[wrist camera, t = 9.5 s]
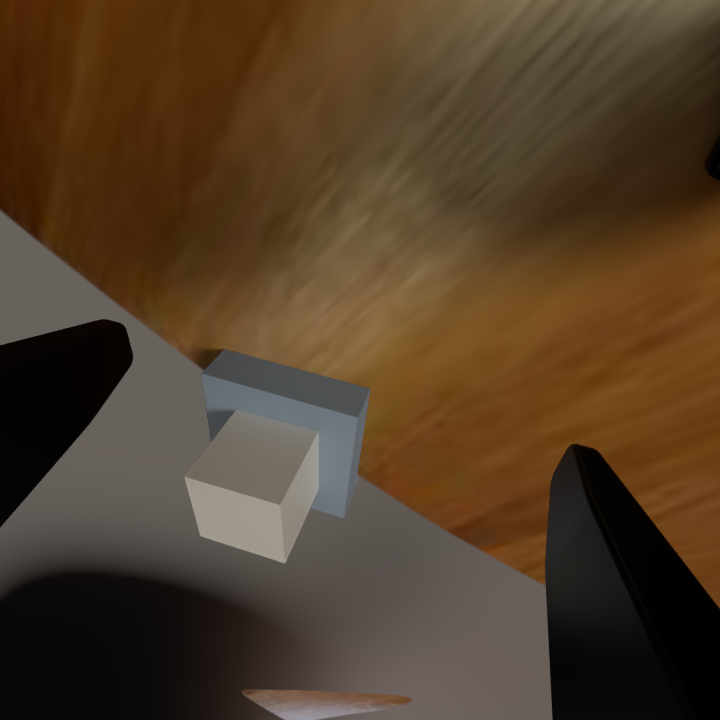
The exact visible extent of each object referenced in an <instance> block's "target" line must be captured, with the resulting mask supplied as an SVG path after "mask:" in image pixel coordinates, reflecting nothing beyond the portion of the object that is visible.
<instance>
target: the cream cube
mask: <svg viewBox="0 0 720 720" xmlns="http://www.w3.org/2000/svg"><path fill="white" fill-rule="evenodd" d="M185 481H186V485H187V488H188V492H189V495H190V499H191V503H192V506H193V510H194V514H195V518H196V521H197V525H198V528H199V532H200V536H202V537H205V538H208V539H211V540H214V541H217V542H221V543H224V544H227V545H230V546H233V547H236V548H239V549H242V550H245V551H248V552H251V553H254V554H258V555H261V556H264V557H267V558H270V559H273V560H276V561H279V562H282V563H285V562H286V560H287V558H288V556H289V553H290V551H291V549H292V547H293V545H294V542H295V540H296V538H297V536H298V534H299V531H300V529H301V527H302V525H303V523H304V520H305V518H306V516H307V514H308V511H309V509H310V507H311V505H312V503H313V500H314V498H315V496H316V494H317V492H318V489H319V431H316V430H312V429H308V428H304V427H301V426H297V425H293V424H289V423H285V422H281V421H277V420H273V419H269V418H265V417H262V416H258V415H254V414H250V413H246V412H242V411H238V410H236V411H235V412H234V413H233V415H232V416H231V417H230V418H229V420H228V421H227V422H226V424H225V425H224V426H223V427H222V429H221V430H220V431H219V433H218V434H217V435H216V437H215V438H214V439H213V440H212V442H211V443H210V444H209V446H208V447H207V448H206V450H205V451H204V452H203V453H202V455H201V456H200V457H199V459H198V460H197V461H196V462H195V464H194V465H193V466H192V468H191V469H190V470H189V472H188V473H187V474H186V475H185Z"/></svg>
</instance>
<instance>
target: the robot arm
mask: <svg viewBox="0 0 720 720" xmlns="http://www.w3.org/2000/svg"><path fill="white" fill-rule="evenodd" d="M719 162H720V135H719V137H718V139H717V141H716V143H715V144H714V146H713V148H712V150H711V152H710V154H709V156H708V158H707V160H706V163H705V170H706V172H707V173H708V174H709V175H710V176H711V177H712V178H715V179H717V180H720V170H719V169H718V164H719ZM132 361H133V353H132V349H131V345H130V341H129V337H128V334H127V330H126V328H125V326H124V325H123V324H121V323H118V322H115V321H111V320H106V319H102V320H97V321H93V322H89V323H85V324H81V325H78V326H74V327H70V328H66V329H62V330H58V331H54V332H50V333H46V334H43V335H39V336H35V337H31V338H27V339H23V340H19V341H15V342H12V343H7V344H4V345H0V527H1V526H2V525H3V524H4V523H5V521H6V520H7V519H8V518H9V517H10V516H11V514H12V513H13V512H14V511H15V510H16V509H17V508H18V506H19V505H20V504H21V503H22V502H23V501H24V499H25V498H26V497H27V496H28V495H29V494H30V492H31V491H32V490H33V489H34V488H35V487H36V486H37V484H38V483H39V482H40V481H41V480H42V479H43V477H44V476H45V475H46V474H47V473H48V472H49V470H50V469H51V468H52V467H53V466H54V465H55V464H56V462H57V461H58V460H59V459H60V458H61V457H62V455H63V454H64V453H65V452H66V451H67V450H68V449H69V447H70V446H71V445H72V444H73V443H74V441H75V440H76V439H77V438H78V437H79V436H80V435H81V433H82V432H83V431H84V430H85V429H86V427H87V426H88V425H89V424H90V423H91V421H92V420H93V419H94V417H95V416H96V415H97V413H98V412H99V410H100V409H101V407H102V406H103V405H104V403H105V402H106V400H107V399H108V397H109V396H110V395H111V393H112V392H113V390H114V389H115V388H116V386H117V385H118V383H119V382H120V381H121V379H122V378H123V376H124V375H125V373H126V372H127V371H128V369H129V368H130V366H131V364H132ZM545 578H546V597H547V616H548V617H547V618H548V638H549V658H550V678H551V698H552V717H553V720H720V608H719V607H718V606H717V605H716V603H715V602H714V601H713V599H712V598H711V597H710V595H709V594H708V593H707V592H706V590H705V589H704V588H703V586H702V585H701V584H700V582H699V581H698V580H697V579H696V577H695V576H694V575H693V573H692V572H691V571H690V570H689V568H688V567H687V566H686V564H685V563H684V562H683V560H682V559H681V558H680V557H679V555H678V554H677V553H676V551H675V550H674V549H673V547H672V546H671V545H670V544H669V542H668V541H667V540H666V538H665V537H664V536H663V534H662V533H661V532H660V531H659V529H658V528H657V527H656V525H655V524H654V523H653V522H652V520H651V519H650V518H649V516H648V515H647V514H646V512H645V511H644V510H643V509H642V507H641V506H640V505H639V503H638V502H637V501H636V499H635V498H634V497H633V496H632V494H631V493H630V492H629V490H628V489H627V488H626V486H625V485H624V484H623V483H622V481H621V480H620V479H619V477H618V476H617V475H616V474H615V472H614V471H613V470H612V468H611V467H610V466H609V464H608V463H607V462H606V461H605V459H604V458H603V457H602V455H601V454H600V453H599V452H598V451H597V450H596V449H593V448H590V447H586V446H583V445H579V444H571V445H570V446H569V447H568V448H567V450H566V452H565V454H564V455H563V457H562V459H561V461H560V463H559V464H558V466H557V468H556V470H555V472H554V474H553V477H552V480H551V488H550V501H549V515H548V528H547V542H546V558H545Z"/></svg>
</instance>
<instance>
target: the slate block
mask: <svg viewBox="0 0 720 720" xmlns="http://www.w3.org/2000/svg"><path fill="white" fill-rule="evenodd" d="M201 375H202V382H203V388H204V396H205V403H206V409H207V417H208V424H209V431H210V437H211V442H212V440H213V439H214V438H215V437H216V435H217V434H218V433H219V431H220V430H221V429H222V427H223V426H224V425H225V424H226V422H227V421H228V420H229V418H230V417H231V416H232V415H233V413H234V412H235V411H236V410H238V411H242V412H246V413H250V414H254V415H258V416H262V417H265V418H269V419H273V420H277V421H281V422H285V423H289V424H293V425H297V426H301V427H304V428H308V429H312V430H316V431H319V489H318V492H317V494H316V496H315V498H314V500H313V503H312V505H311V507H310V508H313V509H316V510H319V511H322V512H325V513H328V514H331V515H334V516H337V517H341V518H344V516H345V514H346V511H347V508H348V505H349V503H350V500H351V498H352V495H353V492H354V489H355V487H356V484H357V479H358V475H357V472H358V465H359V459H360V452H361V446H362V440H363V433H364V427H365V420H366V414H367V407H368V401H369V395H370V388H366V387H362V386H359V385H355V384H351V383H347V382H344V381H340V380H336V379H333V378H329V377H325V376H322V375H318V374H314V373H311V372H307V371H303V370H300V369H296V368H292V367H288V366H285V365H281V364H277V363H274V362H270V361H266V360H263V359H259V358H255V357H252V356H248V355H244V354H241V353H237V352H233V351H229V350H226V349H224V350H223V351H222V352H221V353H220V354H219V355H218V356H217V358H216V359H215V360H214V361H213V362H212V363H211V364H210V365H209V366H208V367H207V368H206V369H205V370H204V371H203V372H202V374H201Z"/></svg>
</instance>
